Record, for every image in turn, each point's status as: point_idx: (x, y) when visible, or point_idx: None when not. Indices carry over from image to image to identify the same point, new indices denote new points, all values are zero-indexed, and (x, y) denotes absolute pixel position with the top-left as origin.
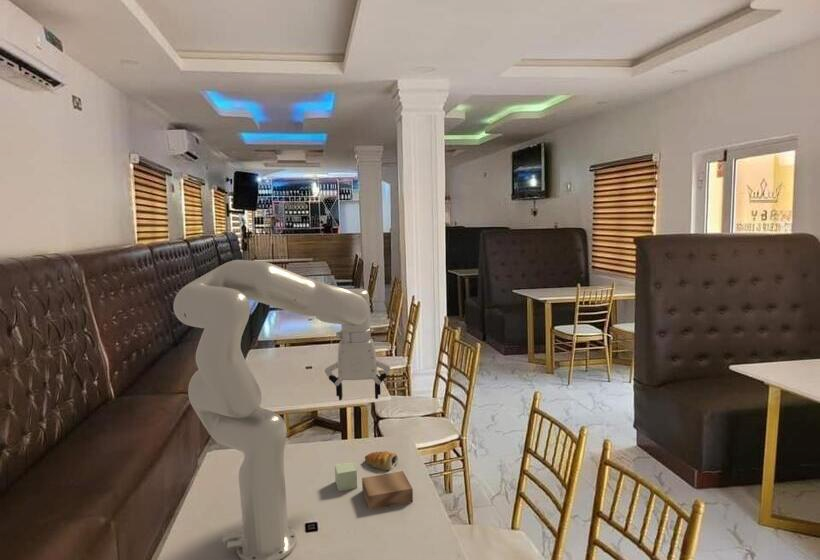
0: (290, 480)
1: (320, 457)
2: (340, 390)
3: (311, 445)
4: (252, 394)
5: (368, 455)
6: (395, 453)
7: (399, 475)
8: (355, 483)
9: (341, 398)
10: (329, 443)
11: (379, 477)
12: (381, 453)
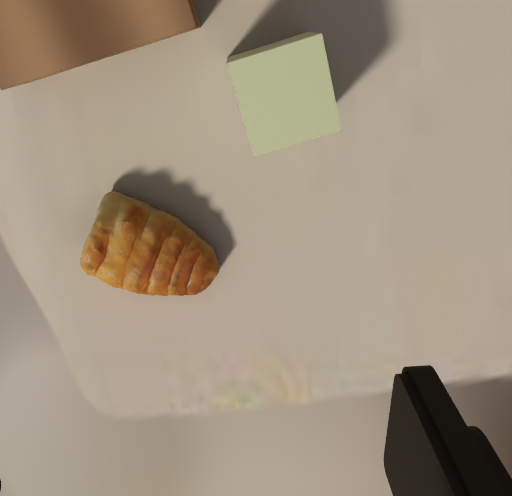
0: (508, 130)
1: (392, 294)
2: (462, 486)
3: None
4: None
5: (202, 266)
6: (82, 266)
7: (8, 44)
8: (234, 56)
9: (404, 383)
10: (363, 382)
11: (107, 28)
12: (141, 262)
